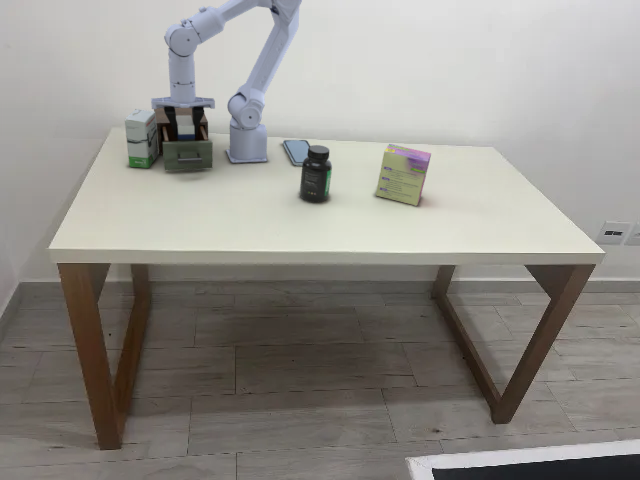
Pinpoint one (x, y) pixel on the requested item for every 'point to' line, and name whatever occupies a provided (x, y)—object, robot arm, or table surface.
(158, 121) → the cabinet
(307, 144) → the smartphone
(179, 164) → the drawer
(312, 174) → the supplement bottle
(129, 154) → the ink box
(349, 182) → the table surface
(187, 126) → the white blue carton
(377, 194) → the box
